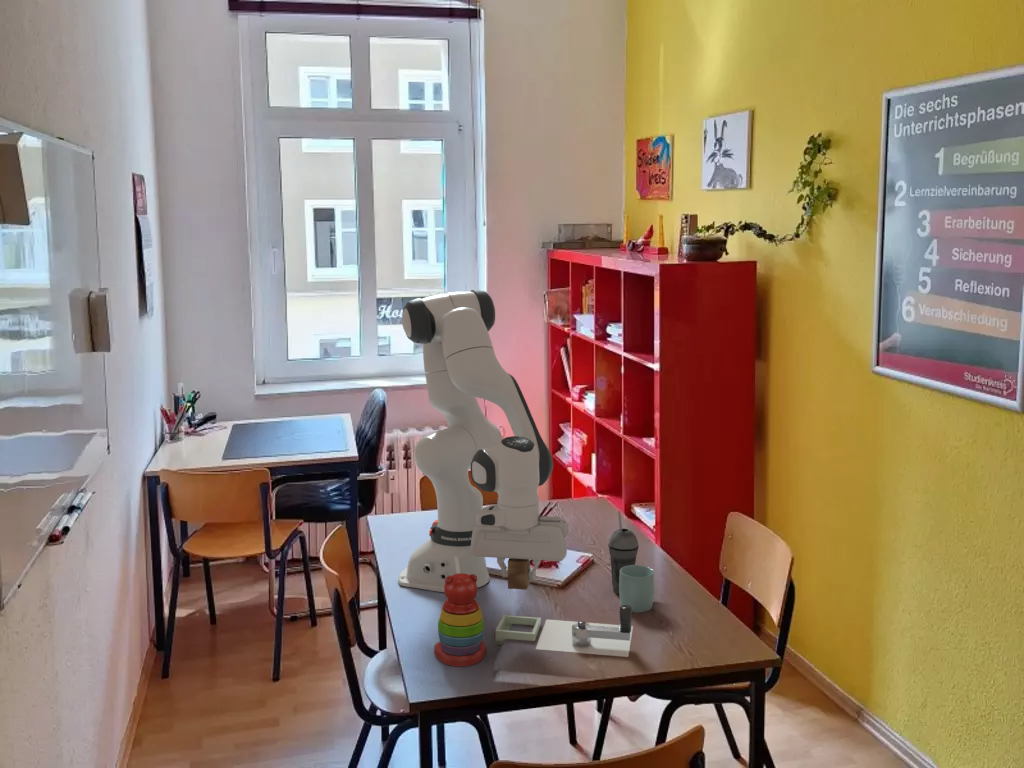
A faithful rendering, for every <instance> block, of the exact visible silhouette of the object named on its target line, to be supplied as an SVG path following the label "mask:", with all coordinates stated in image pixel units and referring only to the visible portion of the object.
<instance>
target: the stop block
mask: <svg viewBox="0 0 1024 768" xmlns="http://www.w3.org/2000/svg"><path fill="white" fill-rule="evenodd" d="M530 563H531V561H530V560H529V559H512V558H508V560H507V567H508V578H507V589H510V590H525V591H526V590H528V588H529V585H530V584H531V579H528V570H529V569H531V564H530Z"/></svg>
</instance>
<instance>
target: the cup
mask: <svg viewBox="0 0 1024 768" xmlns="http://www.w3.org/2000/svg"><path fill="white" fill-rule="evenodd" d="M655 577H656V574H655V570H654V569H653V568H651V567H649V566H646V565H642V564H641V565H640V564H635V565H629V566H625V567H622V568H621V569H620V573H619V594H618V595H619V602H620V606H622V605H628V606H631V607H632V613H645V612H649V611H651V609H652V607H653V605H654V597H655V583H656V582H655V581H656V578H655Z"/></svg>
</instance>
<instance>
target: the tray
mask: <svg viewBox="0 0 1024 768" xmlns="http://www.w3.org/2000/svg"><path fill="white" fill-rule="evenodd" d="M512 625H524V626H533V629H532V631H531V632H530V631H529V632H528V631H519V630H510V629H511V628H512ZM541 625H542V617H535V616H534V617H533V616H522V615H521V616H519V615H509V614H508V615H507V614H503V615H502V617H501V618H500V620H499V623H498V625H497V627H496V629H495V631H494V632H495V635H494V637H495V642H494V643H495V645H499V646H503V645H504V644H505V641H506V640H518V641H530V642H531V641H532V642H535V641H536V639H537V636H538V633H539V630H540V628H541Z"/></svg>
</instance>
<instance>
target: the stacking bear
mask: <svg viewBox="0 0 1024 768" xmlns="http://www.w3.org/2000/svg"><path fill="white" fill-rule="evenodd" d="M476 581H477V576H476V575H474V574H471V575H468V574H464V573H459V574H454V575H452V576H448V577H447V578H446V579H445V585H444V592H443V593H444V595H445V598H446V600H445V601H444V602H443V604H442V608H441V610H440V614H439V618H438V624H437V632H438V638H439V641H438V642H436V643H435V644H434V648H433V653H434V655H435V657H436V658H437V659H438V661H440V662H441V663H443V664H446V665H448V666H451V667H458V668H459V667H468V666H473V665H475V664H478V663H480V662H481V661H482V660H483V659H484V658H485V656H486V654H487V645H486V642H484V640H483V638H484V632H485V629H484V628H485V626H484V625H485V624H484V617H483V613H482V609H481V606H480V605H479V602H478V601H477V600H476V596H477V593H478V587H477V584H476Z"/></svg>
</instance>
